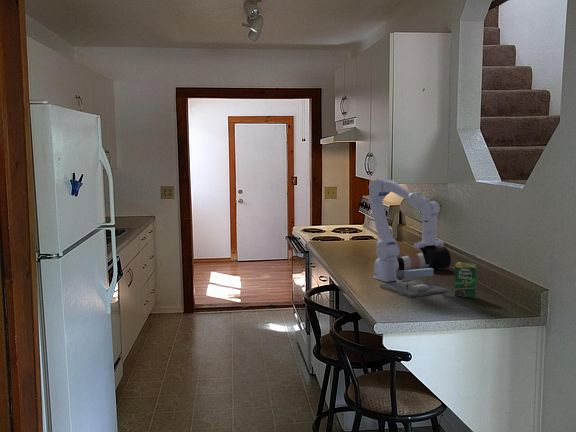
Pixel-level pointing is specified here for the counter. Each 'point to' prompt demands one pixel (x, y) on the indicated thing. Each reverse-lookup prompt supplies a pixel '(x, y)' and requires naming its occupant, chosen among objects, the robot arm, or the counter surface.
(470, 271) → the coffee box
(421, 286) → the chassis
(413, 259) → the black banded cylinder
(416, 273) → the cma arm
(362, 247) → the counter surface
